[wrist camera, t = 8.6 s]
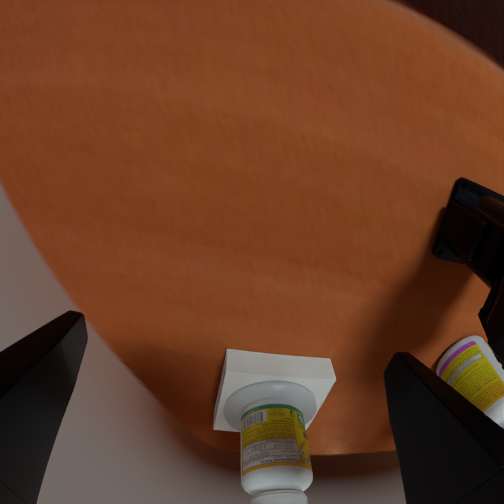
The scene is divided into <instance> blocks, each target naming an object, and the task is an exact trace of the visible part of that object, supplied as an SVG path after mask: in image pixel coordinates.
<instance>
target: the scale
mask: <svg viewBox="0 0 504 504" xmlns="http://www.w3.org/2000/svg"><path fill="white" fill-rule="evenodd" d="M335 381H336V377H335V373H334V370H333V367H332V363H331V360H330V358H315V357H301V356H289V355H278V354H268V353H259V352H250V351H241V350H233V349H227V351H226V356H225V360H224V365H223V370H222V375H221V380H220V385H219V389H218V394H217V399H216V404H215V409H214V425H213V429H214V430H223V431H233V432H240V417H241V413H242V412H243V410H244V409H245V408H246V407H247V406H248V405H250V404H251V403H253V402H256V401H258V400H262V399H267V398H282V399H287V400H290V401H292V402H294V403H296V404H297V405H298V406H299V408H300V409H301V410H302V413H303V418H304V424H305V430H307V428H308V426H309V425H310V423H311V422H312V420H313V418H314V417H315V415H316V413H317V412H318V410H319V408H320V407H321V405H322V403H323V402H324V400H325V398H326V397H327V395H328V393H329V391H330V390H331V388H332V386H333V384H334V382H335Z"/></svg>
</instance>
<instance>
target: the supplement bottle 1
mask: <svg viewBox="0 0 504 504" xmlns="http://www.w3.org/2000/svg"><path fill="white" fill-rule="evenodd" d="M240 433H241V485H242V487H243V489H244V490H245V491H246V492H247V493H249V494H251V495H253V496H254V497H252V499H251V501H250V504H308V502H307V496H306V495H305V494H304V493H303V491H305V490H306V489H307V488H308V487H309V486H310V485H311V483H312V480H313V473H312V466H311V461H310V454H309V448H308V442H307V436H306V430H305V424H304V418H303V413H302V410H301V409H300V408H299V406H298V405H297V404H296V403H294V402H292V401H290V400H287V399H282V398H267V399H262V400H258V401H256V402H253V403H251V404H250V405H248V406H247V407H246V408H245V409H244V410H243V412H242V413H241V417H240Z"/></svg>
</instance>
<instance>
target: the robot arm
mask: <svg viewBox="0 0 504 504" xmlns="http://www.w3.org/2000/svg"><path fill="white" fill-rule="evenodd" d="M463 182H464V185H463V186H462V183H463ZM438 250H439V252H438V253H437V251H438ZM432 254H433V255H434V256H435V257H436V258H438V259H443V260H448V261H452V262H457V263H461V264H465V265H466V266H467V267H468V268H470V269H471V270H472V271H473V272H474V273H475V274H476V275H477V276H478V277H479V278H480V279H481V280H482V281H483V282H484V283H485V284H486V285H487V286H488V287H489V288H490V289H491V290H490V292H489V295H488V297H487V299H486V301H485V304H484V306H483V308H481V309H480V312H479V314H478V316H479V319H480V321H481V324H482V326H483V328H484V331H485V333H486V336H487V338H488V344H489V347H490V348H491V350H492V352H493V354H494V356H495V357H496V359H497V361H498V362H499V363H500V364H501V365H502V369H503V370H504V196H503V195H500V194H498V193H496V192H494V191H492V190H490V189H488V188H486V187H484V186H481V185H479V184H477V183H475V182H472V181H470V180H468V179H465V178H463V177H461V178H459V179H458V180H457V183H456V186H455V189H454V192H453V195H452V198H451V201H450V204H449V207H448V210H447V213H446V215H445V218H444V221H443V223H442V226H441V229H440V231H439V234H438V236H437V239H436V242H435V244H434V246H433V249H432ZM87 336H88V335H87V329H86V323H85V317H84V315H83V314H82V313H81V312H76V311H72V310H70V311H68V312H66V313H64V314H62V315H61V316H59V317H57V318H55V319H54V320H52V321H50V322H49V323H47V324H46V325H44V326H42V327H41V328H39V329H37V330H36V331H34V332H32V333H30V334H29V335H27V336H25V337H24V338H22V339H20V340H19V341H17V342H15V343H14V344H12V345H11V346H9V347H7V348H6V349H4V350H3V351H1V352H0V504H36V503H37V499H38V495H39V491H40V488H41V484H42V481H43V477H44V474H45V470H46V467H47V464H48V461H49V457H50V454H51V451H52V448H53V445H54V442H55V439H56V436H57V433H58V430H59V427H60V425H61V422H62V419H63V416H64V414H65V411H66V408H67V405H68V403H69V400H70V397H71V395H72V392H73V390H74V387H75V383H76V380H77V376H78V372H79V369H80V365H81V362H82V358H83V355H84V351H85V348H86V344H87V339H88V337H87ZM384 384H385V391H386V398H387V405H388V413H389V419H390V424H391V428H392V433H393V437H394V442H395V446H396V451H397V456H398V460H399V465H400V471H401V476H402V481H403V486H404V493H405V498H406V504H504V429H503V428H502V427H501V426H499V425H498V424H497V423H496V422H494V421H493V420H492V419H491V418H489V417H488V416H487V415H485V413H483V412H482V411H481V410H480V409H478V408H477V407H476V406H475V405H474V404H472V403H471V402H470V401H469V400H467V399H466V398H465V397H464V396H462V395H461V394H460V393H459V392H458V391H456V390H455V389H454V388H453V387H451V386H450V385H449V384H448V383H446V382H445V381H444V380H443V379H441V378H440V377H439V376H438V375H436V374H435V373H434V372H433V371H431V370H430V369H429V368H428V367H426V366H425V365H424V364H423V363H421V362H420V361H419V360H418V359H416V358H415V357H414V356H413V355H411V354H410V353H408V352H397V353H395V354H394V356H393V357H392V359H391V361H390V362H389V364H388V366H387V367H386V369H385V371H384Z"/></svg>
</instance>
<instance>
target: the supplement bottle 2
mask: <svg viewBox="0 0 504 504" xmlns="http://www.w3.org/2000/svg"><path fill="white" fill-rule="evenodd" d="M436 374H437V375H438V376H439V377H440V378H441V379H443V380H444V381H445V382H446V383H448V384H449V385H450V386H451V387H453V388H454V389H455V390H456V391H458V392H459V393H460V394H461V395H462V396H464V397H465V398H466V399H467V400H469V401H470V402H471V403H472V404H474V405H475V406H476V407H477V408H478V409H480V410H481V411H482V412H483V413H485V415H487V416H488V417H489V418H491V419H492V420H493V421H494V422H496V423H497V424H498V425H499V426H501V427H502V428H503V429H504V370H503V369H502V365H501V364H500V363H499V362H498V361H497V359H496V357H495V356H494V354H493V352H492V350H491V348H490V347H489V346H488V344H487V343H486V342H485V341H484V339H483V338H481V337H480V336H468V337H465V338H463V339H461V340H459V341H458V342H456V343H455V344H454V345H452V346H451V347H450V348H449V349H448V350H447V351H446V352H445V354H444V355H443V356H442V358H441V359H440V361H439V363H438V365H437V369H436Z"/></svg>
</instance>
